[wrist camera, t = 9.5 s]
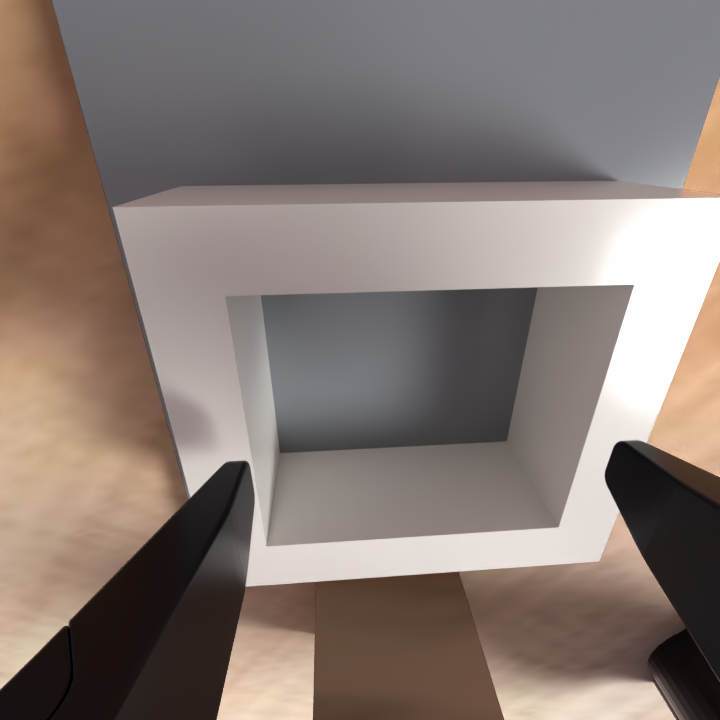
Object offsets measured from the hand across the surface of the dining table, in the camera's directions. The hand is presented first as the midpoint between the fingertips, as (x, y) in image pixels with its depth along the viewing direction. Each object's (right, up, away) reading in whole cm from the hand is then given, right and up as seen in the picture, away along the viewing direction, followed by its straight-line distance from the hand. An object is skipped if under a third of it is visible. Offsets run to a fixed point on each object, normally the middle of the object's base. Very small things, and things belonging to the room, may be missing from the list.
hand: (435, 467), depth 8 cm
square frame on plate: (0, +3, +5) cm, 6 cm away
